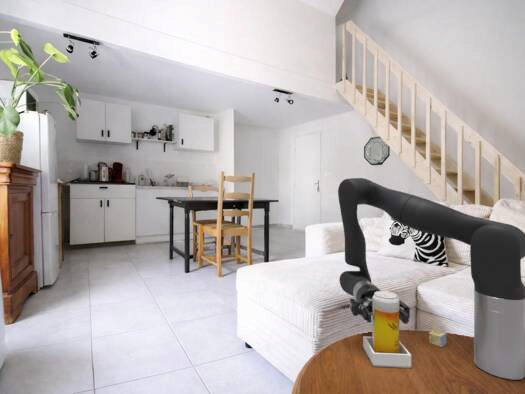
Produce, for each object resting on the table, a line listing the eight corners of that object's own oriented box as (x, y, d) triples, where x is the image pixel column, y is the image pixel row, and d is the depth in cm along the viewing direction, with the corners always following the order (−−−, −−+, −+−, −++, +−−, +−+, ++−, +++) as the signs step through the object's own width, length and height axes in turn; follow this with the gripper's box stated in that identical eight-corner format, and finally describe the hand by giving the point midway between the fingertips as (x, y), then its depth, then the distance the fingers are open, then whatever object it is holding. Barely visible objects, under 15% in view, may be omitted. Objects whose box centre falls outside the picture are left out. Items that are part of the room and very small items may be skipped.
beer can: (401, 363, 69) (402, 299, 69) (374, 360, 70) (374, 297, 70) (395, 350, 75) (396, 291, 75) (370, 347, 76) (370, 289, 76)
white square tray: (397, 349, 77) (397, 337, 77) (411, 368, 68) (411, 355, 68) (363, 347, 77) (363, 336, 77) (372, 366, 69) (373, 353, 69)
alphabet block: (441, 347, 78) (441, 336, 78) (429, 343, 80) (428, 331, 80) (446, 344, 79) (446, 333, 79) (434, 340, 82) (434, 329, 82)
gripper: (344, 283, 88) (357, 302, 72) (393, 284, 87) (418, 304, 71) (344, 308, 88) (357, 333, 72) (393, 310, 87) (418, 336, 71)
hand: (388, 319), depth 71 cm, fingers open, 8 cm apart
